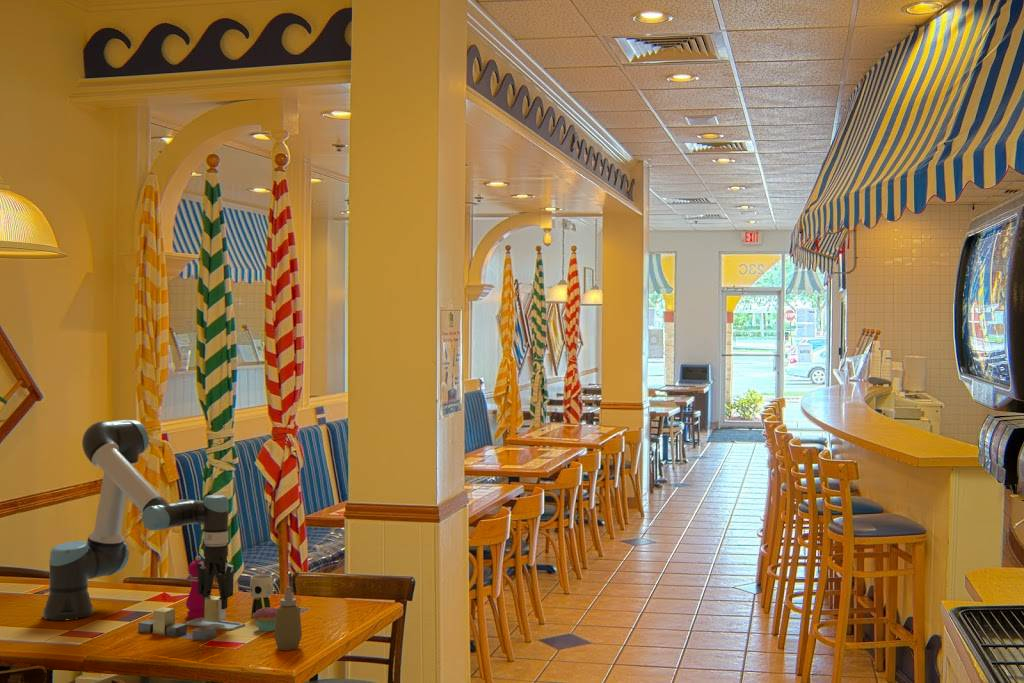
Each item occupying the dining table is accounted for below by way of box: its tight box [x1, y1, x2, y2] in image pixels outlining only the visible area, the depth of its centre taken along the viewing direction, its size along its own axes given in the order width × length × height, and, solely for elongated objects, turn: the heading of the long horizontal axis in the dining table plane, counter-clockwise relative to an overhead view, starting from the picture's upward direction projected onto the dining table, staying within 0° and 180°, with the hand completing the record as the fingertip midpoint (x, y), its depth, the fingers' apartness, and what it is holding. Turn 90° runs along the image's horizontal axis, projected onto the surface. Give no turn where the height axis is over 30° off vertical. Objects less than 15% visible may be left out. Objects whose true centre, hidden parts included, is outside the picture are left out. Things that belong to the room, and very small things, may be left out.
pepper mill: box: [185, 555, 207, 619], centre depth 348 cm, size 7×7×20 cm
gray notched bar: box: [137, 618, 217, 642], centre depth 325 cm, size 26×5×3 cm, turn 66°
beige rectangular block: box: [204, 595, 226, 622], centre depth 336 cm, size 4×4×7 cm
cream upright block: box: [152, 606, 176, 636], centre depth 327 cm, size 4×4×7 cm
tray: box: [184, 617, 246, 632], centre depth 337 cm, size 18×7×1 cm, turn 66°
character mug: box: [249, 574, 274, 617], centre depth 350 cm, size 11×7×13 cm, turn 53°
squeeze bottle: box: [273, 585, 303, 651], centre depth 312 cm, size 8×8×18 cm
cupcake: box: [252, 593, 277, 632], centre depth 332 cm, size 9×8×12 cm
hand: (215, 618), depth 337 cm, fingers closed on beige rectangular block, 4 cm apart
